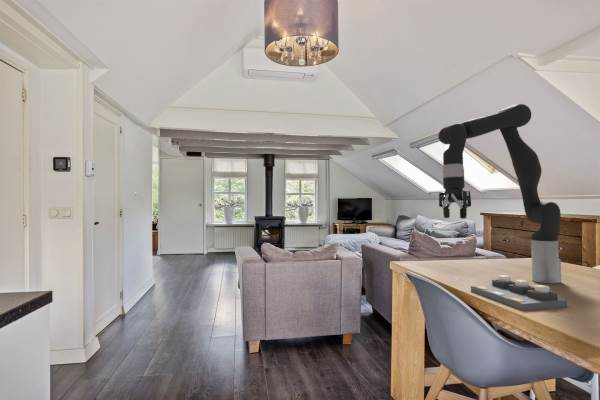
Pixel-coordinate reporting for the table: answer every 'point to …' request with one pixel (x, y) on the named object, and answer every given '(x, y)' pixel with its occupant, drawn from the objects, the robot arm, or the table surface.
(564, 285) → the table surface
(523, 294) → the switch panel
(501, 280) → the button
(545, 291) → the button
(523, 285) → the button
